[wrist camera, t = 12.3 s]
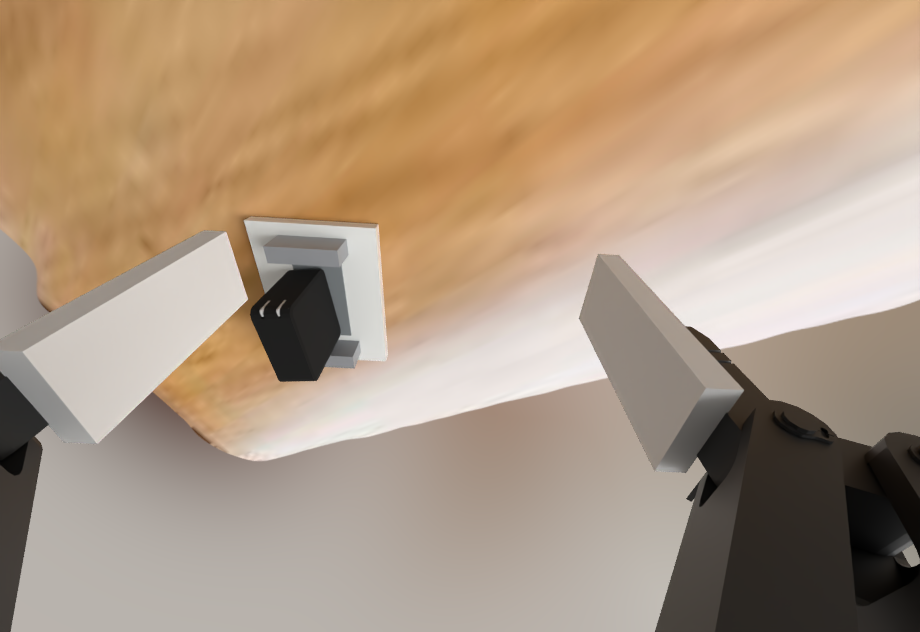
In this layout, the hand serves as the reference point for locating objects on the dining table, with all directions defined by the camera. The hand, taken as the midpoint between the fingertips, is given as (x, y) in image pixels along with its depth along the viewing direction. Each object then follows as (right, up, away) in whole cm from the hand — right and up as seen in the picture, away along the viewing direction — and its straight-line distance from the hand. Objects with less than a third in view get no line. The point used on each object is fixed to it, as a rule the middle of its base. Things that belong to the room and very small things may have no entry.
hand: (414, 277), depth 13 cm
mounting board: (-16, +1, +34) cm, 37 cm away
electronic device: (-17, 0, +33) cm, 37 cm away
